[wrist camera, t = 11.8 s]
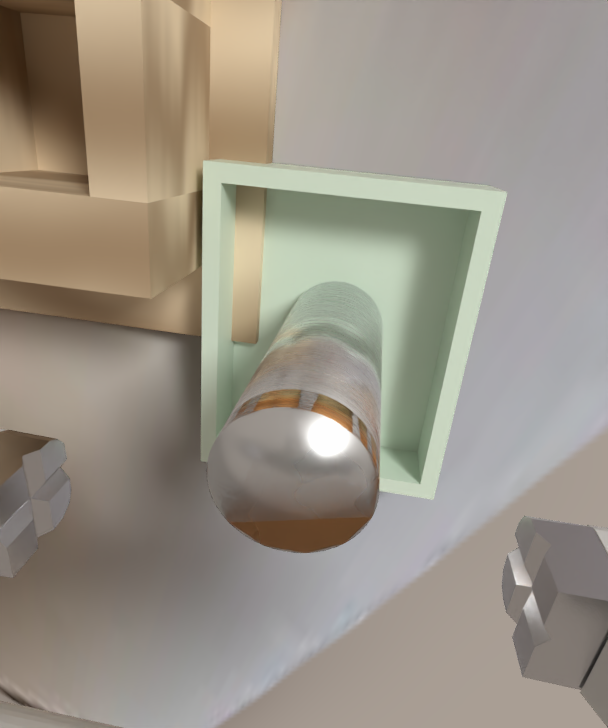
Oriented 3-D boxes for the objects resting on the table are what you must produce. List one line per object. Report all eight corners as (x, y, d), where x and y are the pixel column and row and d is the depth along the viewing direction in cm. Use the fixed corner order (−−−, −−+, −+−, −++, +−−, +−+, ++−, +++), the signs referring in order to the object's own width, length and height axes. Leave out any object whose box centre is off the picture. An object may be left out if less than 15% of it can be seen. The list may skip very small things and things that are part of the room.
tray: (228, 158, 18) (202, 160, 16) (489, 185, 17) (507, 192, 15) (221, 426, 23) (200, 461, 20) (427, 458, 22) (433, 499, 19)
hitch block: (-94, -207, 15) (-356, -400, 10) (292, -195, 14) (235, -405, 9) (-9, 297, 22) (-140, 348, 16) (261, 335, 21) (217, 403, 15)
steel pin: (293, 275, 19) (206, 394, 10) (389, 287, 19) (392, 422, 10) (285, 363, 20) (205, 536, 11) (375, 375, 20) (365, 566, 11)
